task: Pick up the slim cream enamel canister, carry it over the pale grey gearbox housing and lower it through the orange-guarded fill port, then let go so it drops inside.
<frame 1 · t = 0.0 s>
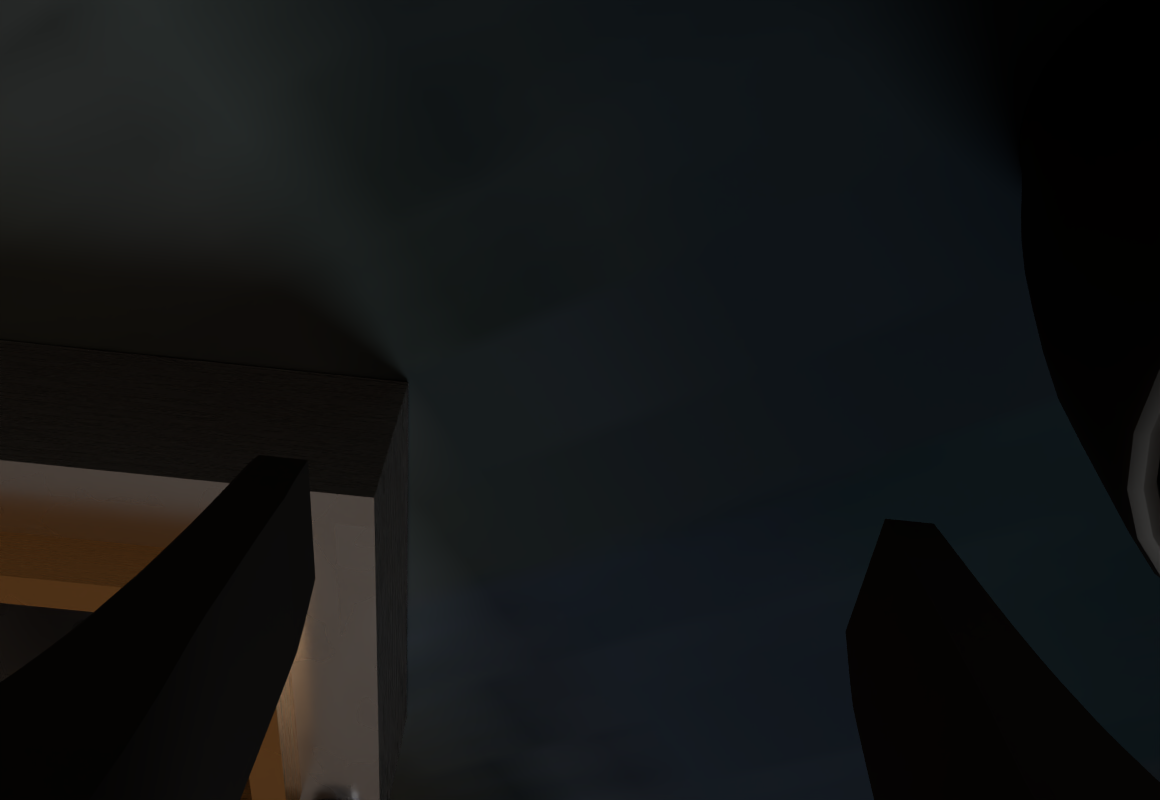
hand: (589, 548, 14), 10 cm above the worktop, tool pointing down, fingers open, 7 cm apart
housing: (175, 547, 28), on the worktop
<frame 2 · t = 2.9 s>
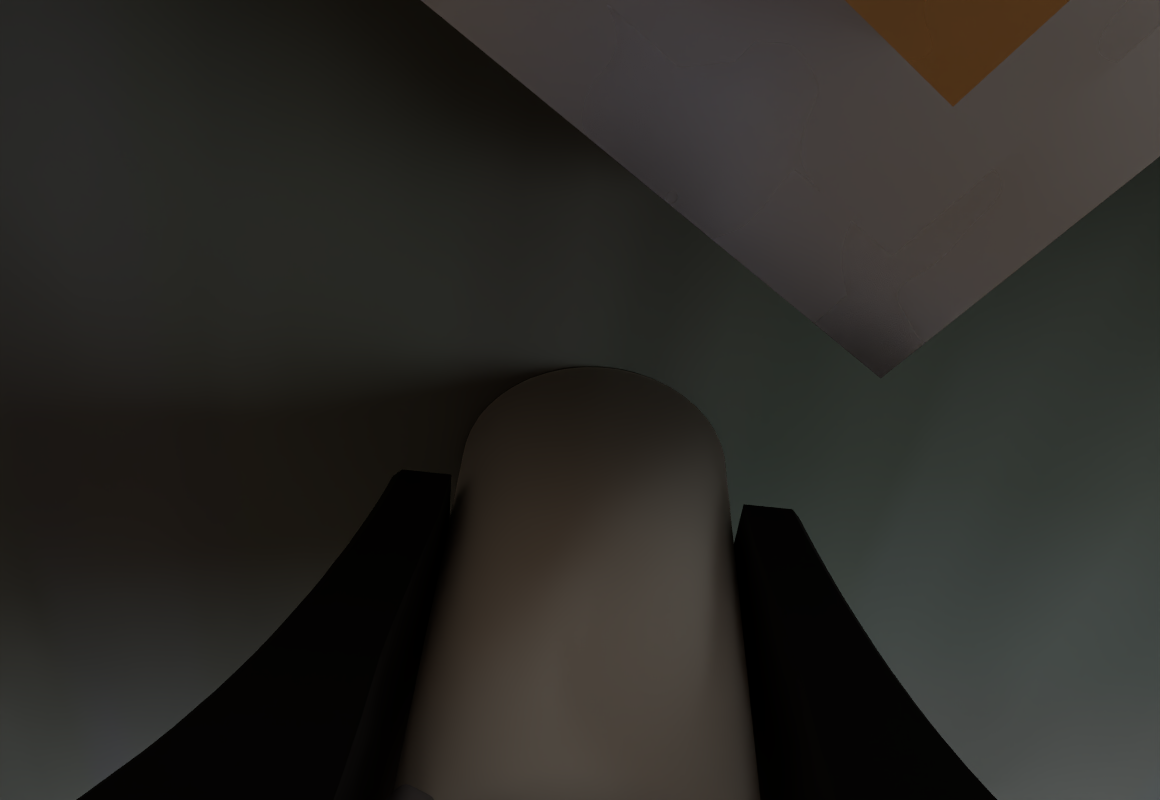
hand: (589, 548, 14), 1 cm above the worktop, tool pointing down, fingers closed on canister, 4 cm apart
canister: (593, 476, 15), on the worktop, touching gripper
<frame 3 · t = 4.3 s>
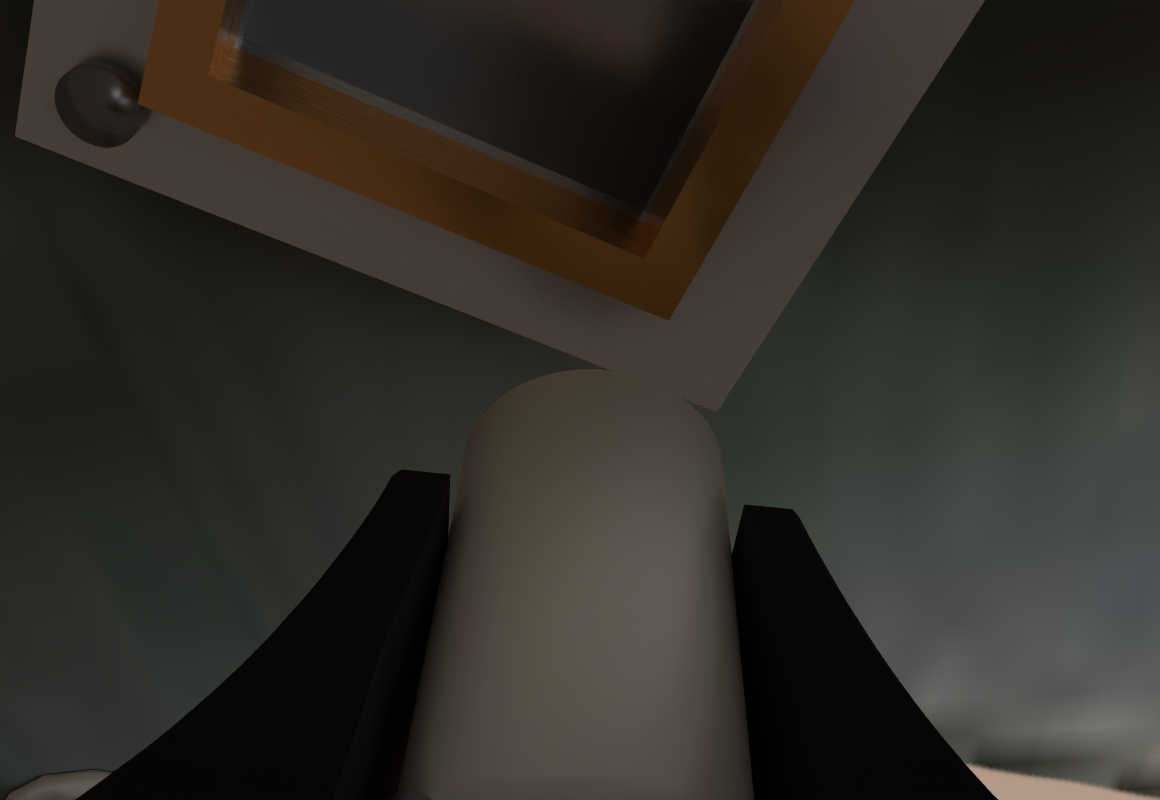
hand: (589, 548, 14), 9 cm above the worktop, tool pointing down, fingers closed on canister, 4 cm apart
canister: (593, 474, 15), point 8 cm above the worktop, touching gripper
when the fingers open (6 cm above the worktop, at t = 5.7 s): canister drops 4 cm, resting on housing.
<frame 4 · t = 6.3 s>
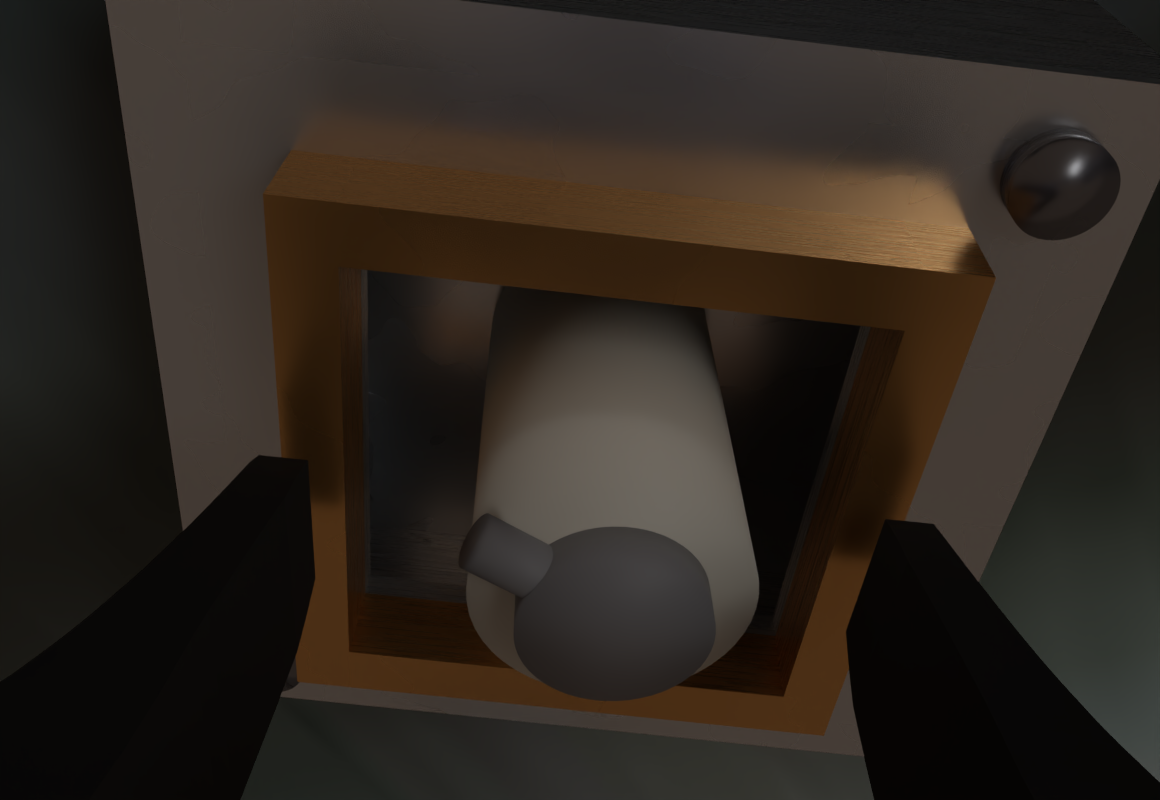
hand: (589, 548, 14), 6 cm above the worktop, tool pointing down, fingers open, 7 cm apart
housing: (601, 307, 19), on the worktop
canister: (599, 334, 18), resting on housing
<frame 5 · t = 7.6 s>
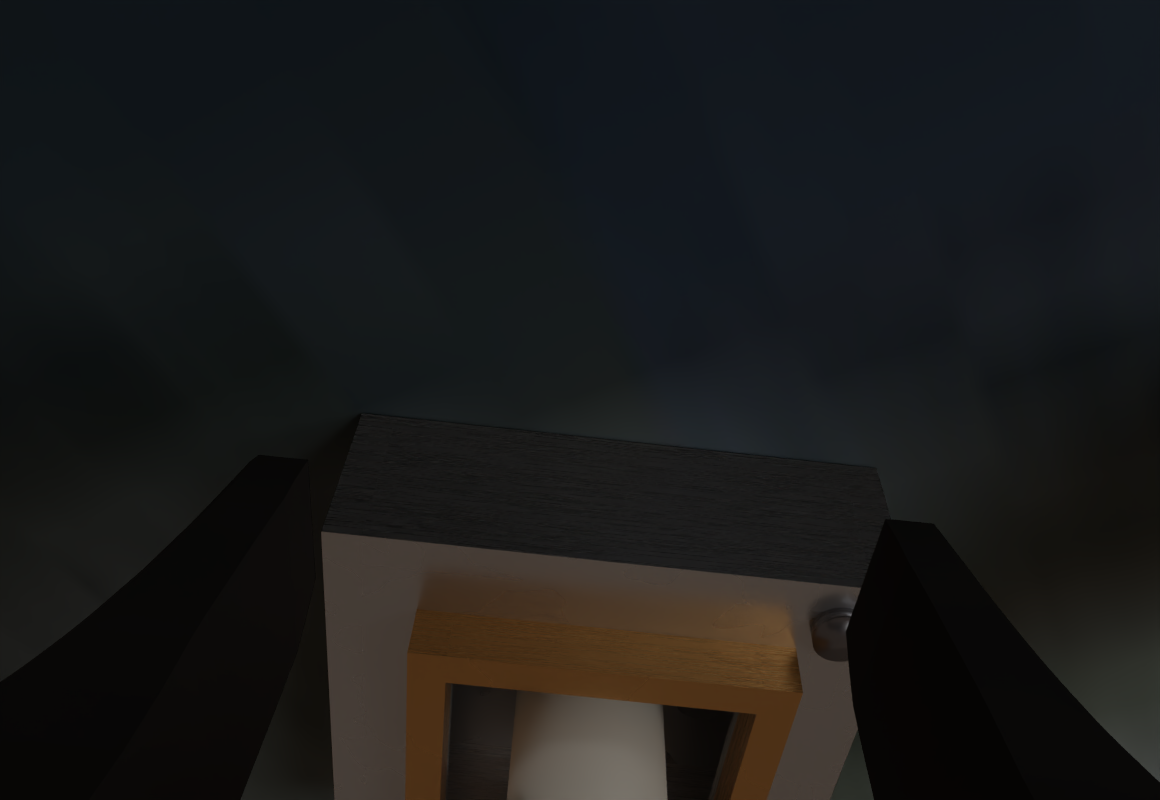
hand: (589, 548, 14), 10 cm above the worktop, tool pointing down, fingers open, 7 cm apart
housing: (592, 619, 29), on the worktop
canister: (590, 638, 29), resting on housing
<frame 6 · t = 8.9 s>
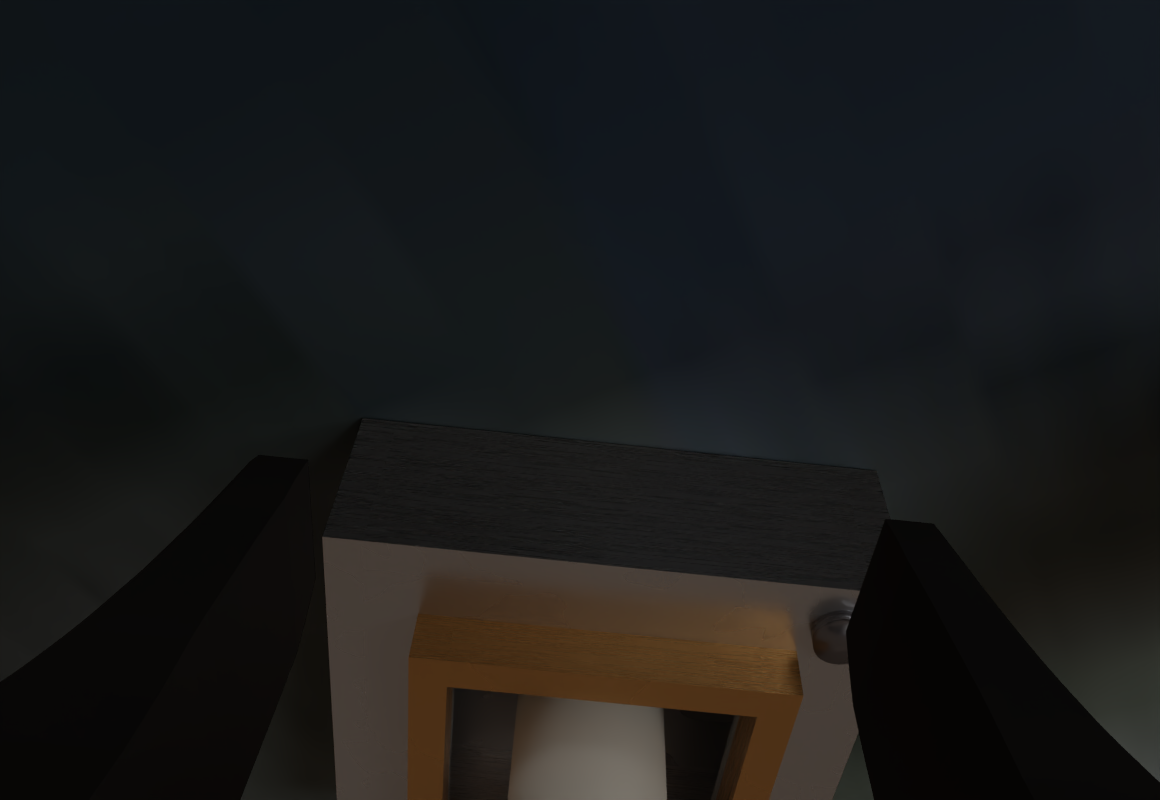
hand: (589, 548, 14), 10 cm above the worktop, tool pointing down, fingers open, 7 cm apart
housing: (594, 622, 29), on the worktop
canister: (592, 640, 29), resting on housing
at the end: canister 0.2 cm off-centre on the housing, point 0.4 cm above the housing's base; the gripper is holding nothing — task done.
